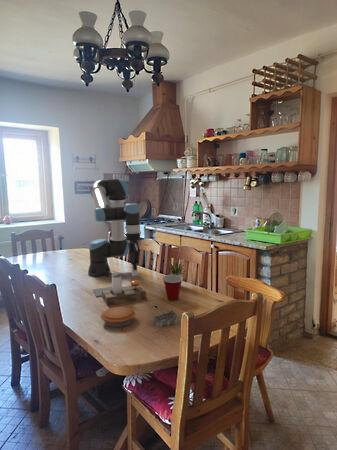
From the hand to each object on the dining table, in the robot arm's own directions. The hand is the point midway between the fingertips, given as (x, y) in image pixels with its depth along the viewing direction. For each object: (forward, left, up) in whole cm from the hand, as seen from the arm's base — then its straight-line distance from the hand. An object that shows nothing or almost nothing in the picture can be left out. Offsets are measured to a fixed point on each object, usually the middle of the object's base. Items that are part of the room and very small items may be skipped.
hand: (134, 275), depth 173 cm
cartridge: (0, -10, -12) cm, 16 cm away
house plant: (-4, +28, -12) cm, 31 cm away
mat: (-14, -14, -12) cm, 23 cm away
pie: (+27, -16, -12) cm, 34 cm away
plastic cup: (+13, +17, -12) cm, 25 cm away
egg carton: (+37, +3, -13) cm, 39 cm away
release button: (0, 0, -9) cm, 9 cm away
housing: (0, -6, -12) cm, 14 cm away
